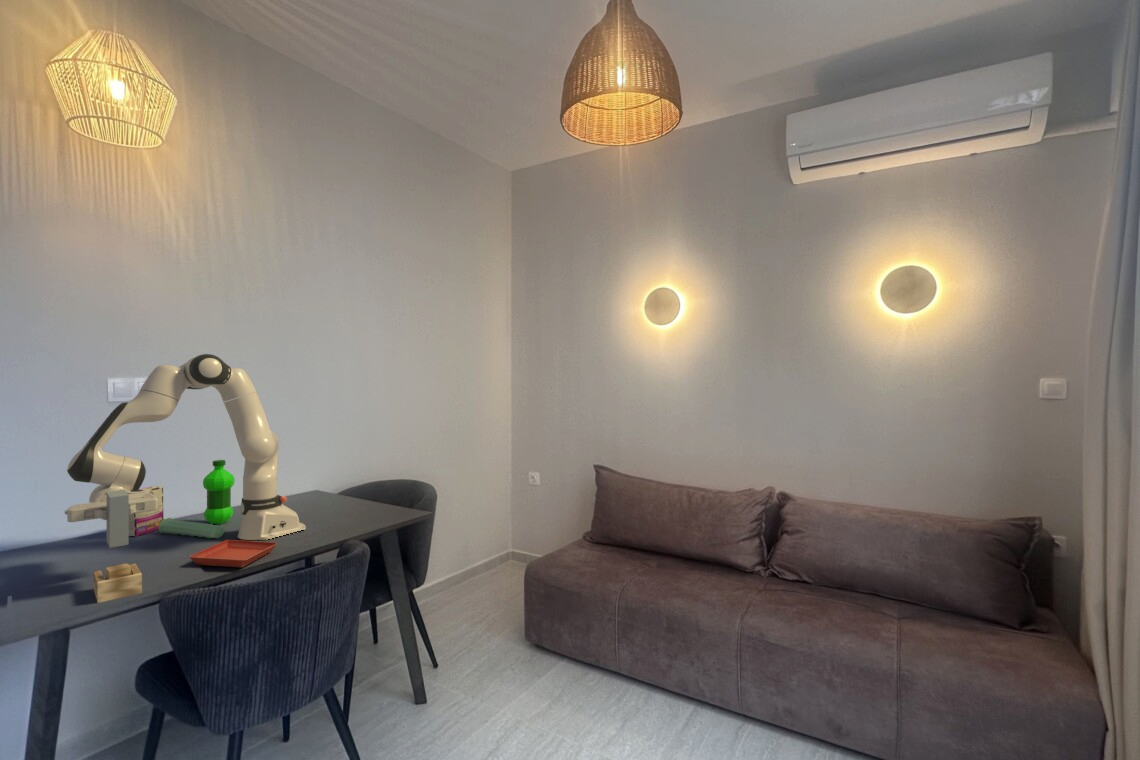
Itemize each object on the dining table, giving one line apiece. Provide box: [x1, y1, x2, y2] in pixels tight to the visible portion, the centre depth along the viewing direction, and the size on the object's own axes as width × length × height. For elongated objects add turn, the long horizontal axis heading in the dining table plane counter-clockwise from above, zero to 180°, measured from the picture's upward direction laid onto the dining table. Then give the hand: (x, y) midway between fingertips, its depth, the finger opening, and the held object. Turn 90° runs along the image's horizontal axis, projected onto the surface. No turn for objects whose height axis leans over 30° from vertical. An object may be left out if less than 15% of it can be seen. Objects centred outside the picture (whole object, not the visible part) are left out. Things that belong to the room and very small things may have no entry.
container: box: [158, 517, 225, 539], centre depth 197 cm, size 6×6×25 cm
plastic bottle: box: [202, 459, 235, 525], centre depth 213 cm, size 10×10×25 cm
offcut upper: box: [105, 563, 131, 580], centre depth 144 cm, size 4×4×3 cm
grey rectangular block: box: [106, 490, 130, 549], centre depth 150 cm, size 4×8×14 cm, turn 46°
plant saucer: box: [188, 539, 278, 568], centre depth 172 cm, size 18×18×3 cm
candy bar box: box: [129, 485, 164, 538], centre depth 200 cm, size 11×5×16 cm, turn 168°
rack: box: [93, 563, 143, 604], centre depth 145 cm, size 9×12×6 cm
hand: (117, 513), depth 151 cm, fingers closed on grey rectangular block, 4 cm apart
